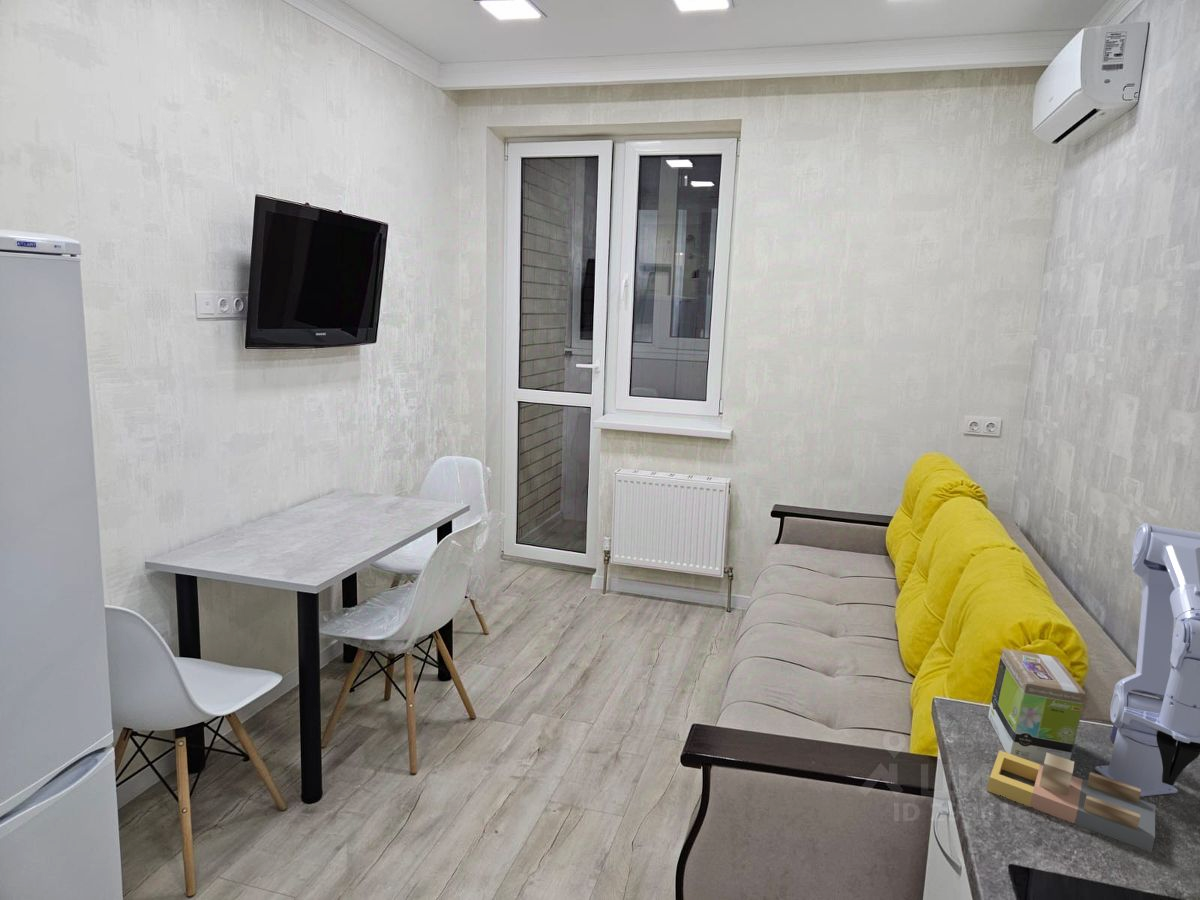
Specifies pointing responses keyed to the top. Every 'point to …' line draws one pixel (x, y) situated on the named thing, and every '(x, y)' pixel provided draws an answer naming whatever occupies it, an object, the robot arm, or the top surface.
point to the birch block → (1057, 773)
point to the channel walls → (1109, 809)
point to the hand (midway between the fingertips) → (1167, 781)
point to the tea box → (1035, 706)
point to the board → (1069, 800)
